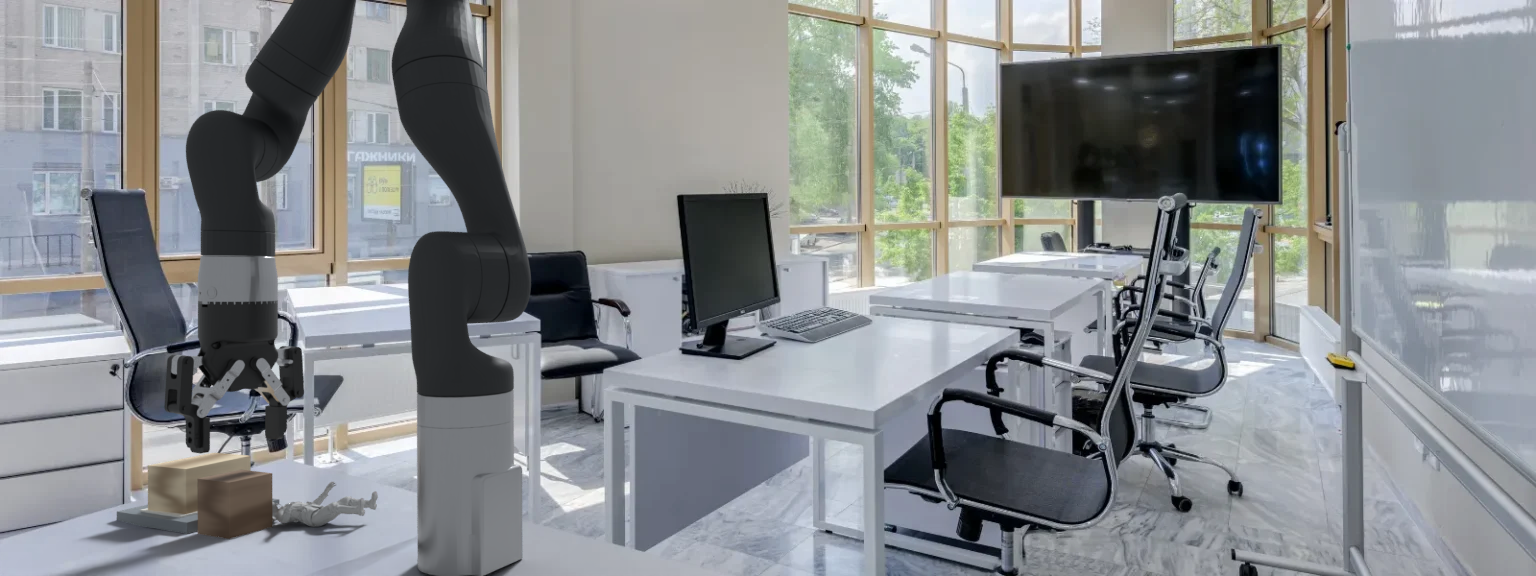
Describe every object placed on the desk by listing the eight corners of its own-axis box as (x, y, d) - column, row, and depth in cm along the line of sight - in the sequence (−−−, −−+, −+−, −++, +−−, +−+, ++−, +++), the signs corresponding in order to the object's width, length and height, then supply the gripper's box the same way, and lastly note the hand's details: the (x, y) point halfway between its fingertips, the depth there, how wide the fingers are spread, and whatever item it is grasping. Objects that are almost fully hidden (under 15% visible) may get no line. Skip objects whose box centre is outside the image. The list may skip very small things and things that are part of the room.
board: (279, 509, 104) (279, 497, 104) (186, 533, 94) (186, 520, 94) (211, 500, 109) (211, 488, 109) (116, 522, 99) (116, 509, 99)
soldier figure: (345, 507, 93) (243, 488, 94) (341, 551, 93) (239, 532, 95) (387, 486, 101) (291, 469, 102) (383, 527, 101) (288, 509, 103)
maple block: (250, 497, 104) (250, 455, 104) (185, 514, 97) (185, 469, 97) (214, 493, 106) (213, 452, 106) (147, 509, 99) (147, 465, 99)
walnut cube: (272, 527, 97) (272, 473, 97) (229, 539, 92) (229, 482, 92) (241, 522, 99) (241, 469, 99) (197, 534, 94) (197, 478, 94)
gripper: (275, 295, 104) (275, 432, 104) (148, 298, 91) (148, 454, 91) (319, 297, 101) (319, 437, 101) (195, 300, 88) (195, 461, 88)
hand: (238, 445), depth 96 cm, fingers open, 8 cm apart
